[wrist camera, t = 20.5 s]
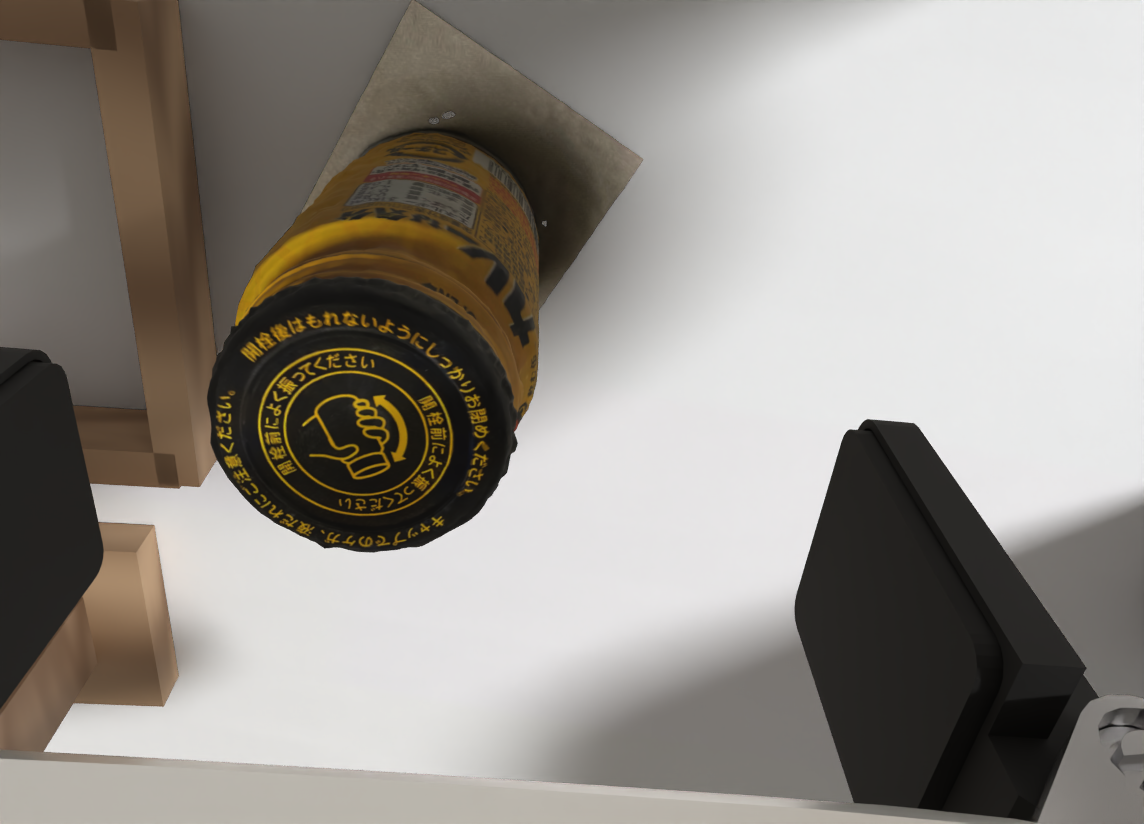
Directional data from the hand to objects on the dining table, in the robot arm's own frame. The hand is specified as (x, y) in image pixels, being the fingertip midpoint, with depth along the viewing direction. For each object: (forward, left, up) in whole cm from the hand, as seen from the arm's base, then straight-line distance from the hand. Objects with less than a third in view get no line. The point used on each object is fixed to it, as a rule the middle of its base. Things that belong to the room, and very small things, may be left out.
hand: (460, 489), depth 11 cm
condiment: (+1, -1, -16) cm, 16 cm away
